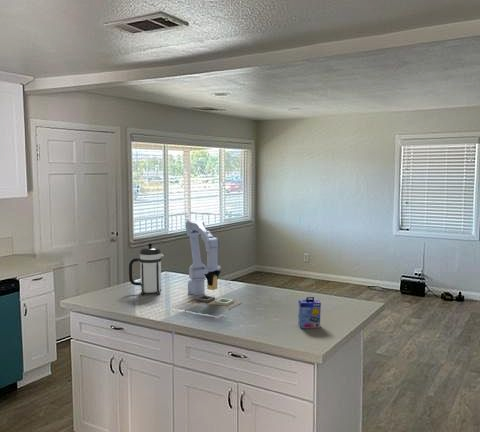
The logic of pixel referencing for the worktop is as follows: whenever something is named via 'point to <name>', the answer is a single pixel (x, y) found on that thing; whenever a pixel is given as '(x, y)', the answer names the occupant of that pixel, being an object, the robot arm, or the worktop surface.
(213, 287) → the plug
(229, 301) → the pale green square frame
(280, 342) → the worktop surface
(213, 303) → the switch board
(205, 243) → the robot arm
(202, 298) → the grey square frame
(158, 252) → the coffee press
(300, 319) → the ink cartridge box
